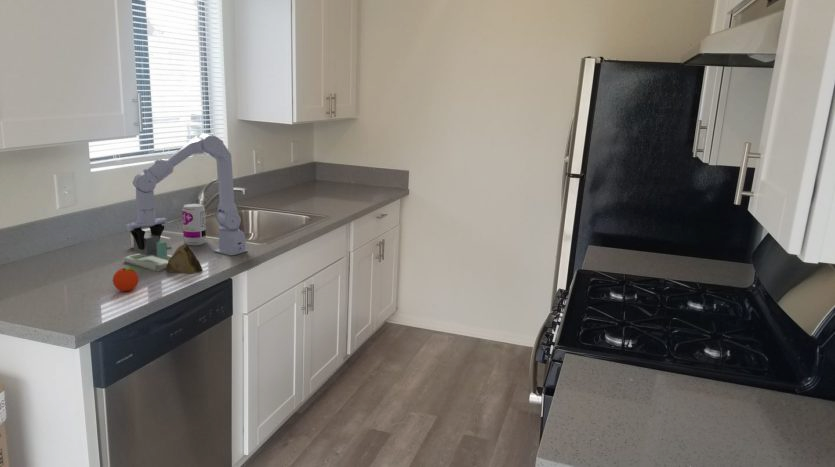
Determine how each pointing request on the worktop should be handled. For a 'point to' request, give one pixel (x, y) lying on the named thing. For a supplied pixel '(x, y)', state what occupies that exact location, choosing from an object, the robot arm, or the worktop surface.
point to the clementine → (125, 279)
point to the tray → (148, 261)
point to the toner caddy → (152, 246)
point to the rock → (184, 261)
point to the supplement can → (194, 224)
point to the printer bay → (162, 238)
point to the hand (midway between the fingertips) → (148, 247)
